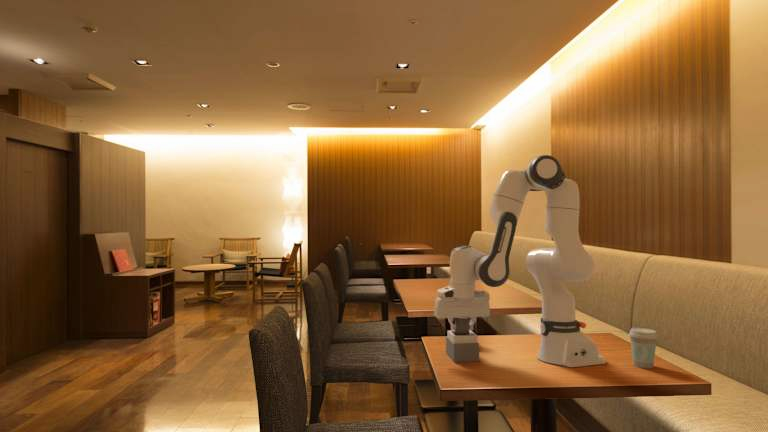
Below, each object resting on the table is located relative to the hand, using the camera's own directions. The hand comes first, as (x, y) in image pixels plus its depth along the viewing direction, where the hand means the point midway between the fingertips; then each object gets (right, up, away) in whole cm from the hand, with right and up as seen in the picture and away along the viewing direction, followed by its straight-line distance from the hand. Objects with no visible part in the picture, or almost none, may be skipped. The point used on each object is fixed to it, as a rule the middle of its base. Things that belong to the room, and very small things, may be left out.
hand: (462, 329), depth 168 cm
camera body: (0, -10, 0) cm, 10 cm away
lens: (0, -3, 0) cm, 3 cm away
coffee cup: (+60, -10, -10) cm, 61 cm away
